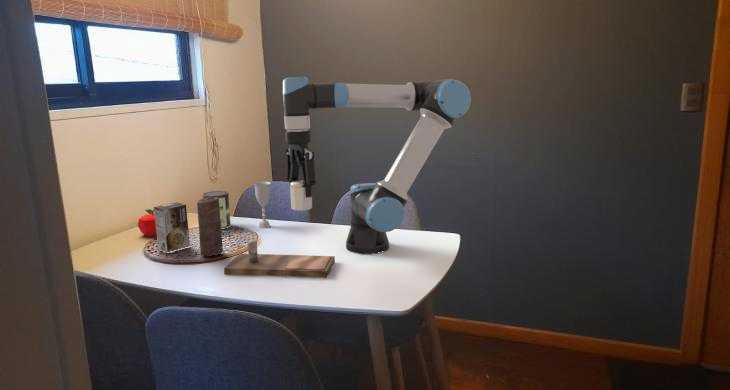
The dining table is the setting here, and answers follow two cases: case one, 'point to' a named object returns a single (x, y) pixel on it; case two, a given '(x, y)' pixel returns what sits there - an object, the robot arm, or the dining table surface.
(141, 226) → the apple
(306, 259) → the post board
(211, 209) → the brown tall block
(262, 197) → the chalice
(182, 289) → the dining table surface
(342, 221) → the dining table surface
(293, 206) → the white cylinder
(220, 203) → the coffee can
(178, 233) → the coffee box
